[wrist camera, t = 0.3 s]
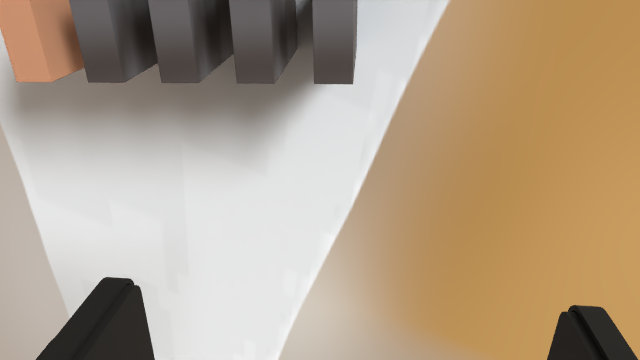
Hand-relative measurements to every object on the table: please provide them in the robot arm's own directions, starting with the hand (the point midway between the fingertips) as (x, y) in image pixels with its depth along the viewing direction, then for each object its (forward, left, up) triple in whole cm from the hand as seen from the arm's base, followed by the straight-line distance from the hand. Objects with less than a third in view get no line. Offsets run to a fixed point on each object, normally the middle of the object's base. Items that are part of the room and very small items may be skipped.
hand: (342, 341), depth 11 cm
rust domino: (-3, -19, -29) cm, 35 cm away
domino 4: (-3, -1, -29) cm, 29 cm away
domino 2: (-3, -10, -29) cm, 31 cm away
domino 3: (-3, -6, -29) cm, 29 cm away
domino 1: (-3, -15, -29) cm, 32 cm away
